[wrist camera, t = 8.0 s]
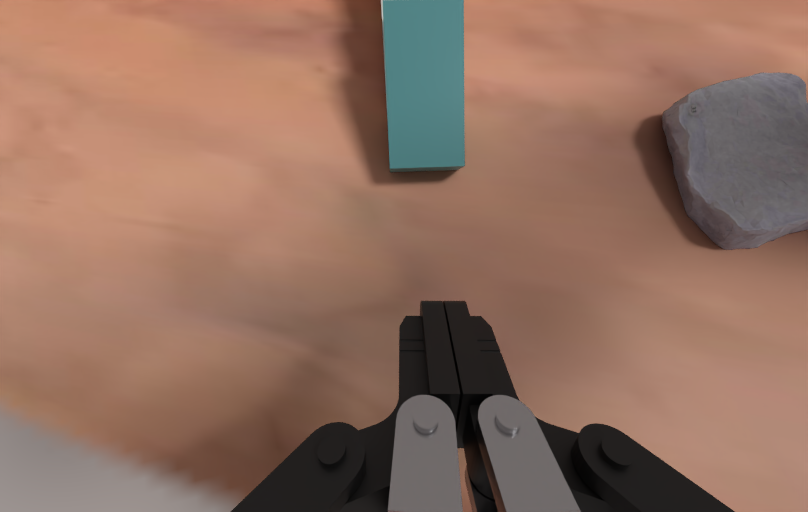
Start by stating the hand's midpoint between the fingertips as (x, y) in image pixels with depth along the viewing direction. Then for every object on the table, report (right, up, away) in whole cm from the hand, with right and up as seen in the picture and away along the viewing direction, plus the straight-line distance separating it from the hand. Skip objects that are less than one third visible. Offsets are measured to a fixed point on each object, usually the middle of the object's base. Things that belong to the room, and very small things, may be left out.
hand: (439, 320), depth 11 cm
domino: (0, +8, +11) cm, 13 cm away
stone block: (+23, +8, +12) cm, 27 cm away
